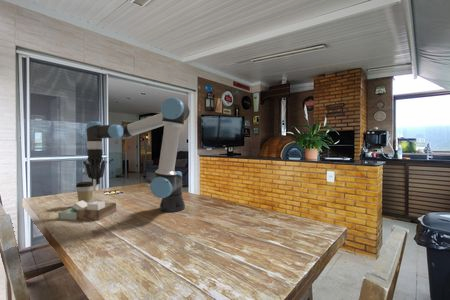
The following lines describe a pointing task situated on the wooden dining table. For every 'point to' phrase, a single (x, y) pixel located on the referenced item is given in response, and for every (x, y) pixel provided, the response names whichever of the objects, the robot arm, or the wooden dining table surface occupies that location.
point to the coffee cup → (85, 191)
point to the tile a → (80, 205)
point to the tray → (68, 214)
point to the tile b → (95, 205)
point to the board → (96, 212)
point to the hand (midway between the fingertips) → (96, 190)
